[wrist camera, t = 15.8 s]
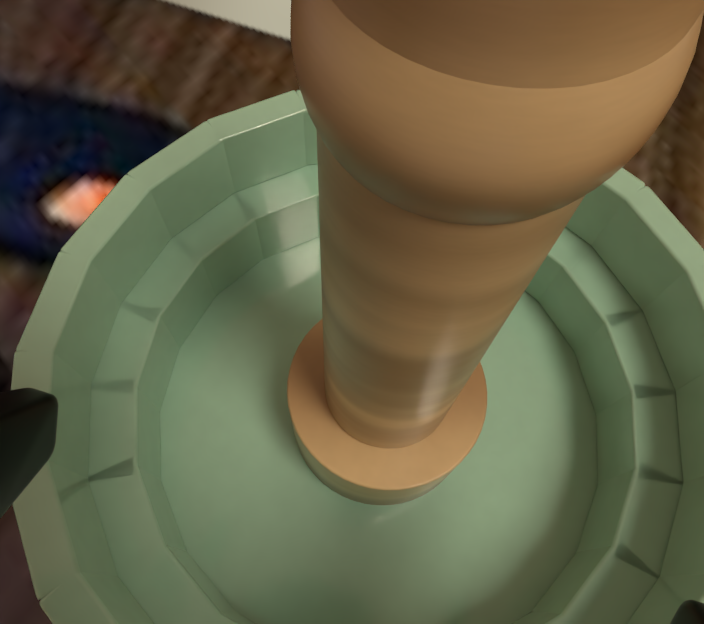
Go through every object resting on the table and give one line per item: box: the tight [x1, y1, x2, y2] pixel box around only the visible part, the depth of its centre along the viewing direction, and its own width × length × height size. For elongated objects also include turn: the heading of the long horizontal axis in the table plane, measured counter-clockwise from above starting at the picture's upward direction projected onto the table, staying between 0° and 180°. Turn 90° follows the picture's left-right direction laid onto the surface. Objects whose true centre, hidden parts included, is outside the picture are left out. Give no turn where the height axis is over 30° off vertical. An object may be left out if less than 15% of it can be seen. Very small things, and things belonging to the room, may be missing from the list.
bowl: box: [11, 90, 704, 624], centre depth 15 cm, size 16×16×5 cm
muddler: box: [287, 0, 704, 505], centre depth 10 cm, size 5×5×14 cm
